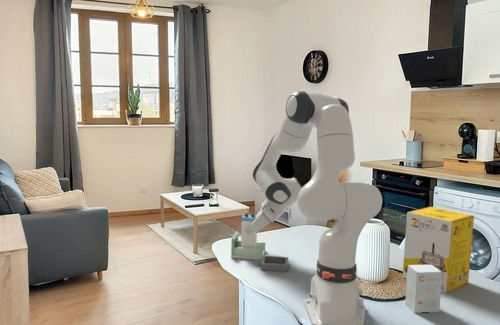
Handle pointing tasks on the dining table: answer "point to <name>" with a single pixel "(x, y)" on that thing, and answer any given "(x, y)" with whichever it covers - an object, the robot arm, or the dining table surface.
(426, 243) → the packaging box
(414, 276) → the small box
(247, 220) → the plug block
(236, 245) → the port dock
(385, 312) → the dining table surface
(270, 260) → the frame
